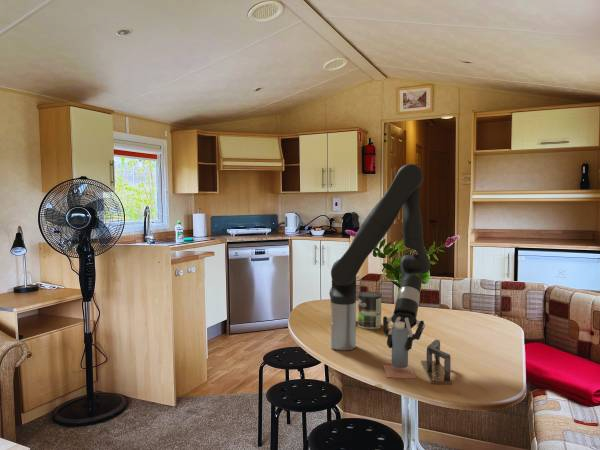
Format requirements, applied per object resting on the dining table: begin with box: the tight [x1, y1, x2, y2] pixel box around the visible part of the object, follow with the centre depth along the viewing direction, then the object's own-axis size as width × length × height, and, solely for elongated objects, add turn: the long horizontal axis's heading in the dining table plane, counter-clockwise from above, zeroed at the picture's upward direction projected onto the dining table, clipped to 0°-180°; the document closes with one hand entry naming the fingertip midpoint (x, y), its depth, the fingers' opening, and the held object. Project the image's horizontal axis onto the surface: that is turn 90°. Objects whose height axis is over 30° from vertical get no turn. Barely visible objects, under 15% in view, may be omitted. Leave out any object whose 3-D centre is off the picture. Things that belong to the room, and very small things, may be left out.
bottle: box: [391, 321, 409, 368], centre depth 151 cm, size 5×5×14 cm
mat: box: [383, 364, 417, 379], centre depth 152 cm, size 9×10×1 cm
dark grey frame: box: [420, 339, 453, 385], centre depth 150 cm, size 6×17×9 cm, turn 176°
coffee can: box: [357, 291, 383, 330], centre depth 203 cm, size 10×10×14 cm
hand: (398, 348), depth 149 cm, fingers closed on bottle, 5 cm apart
